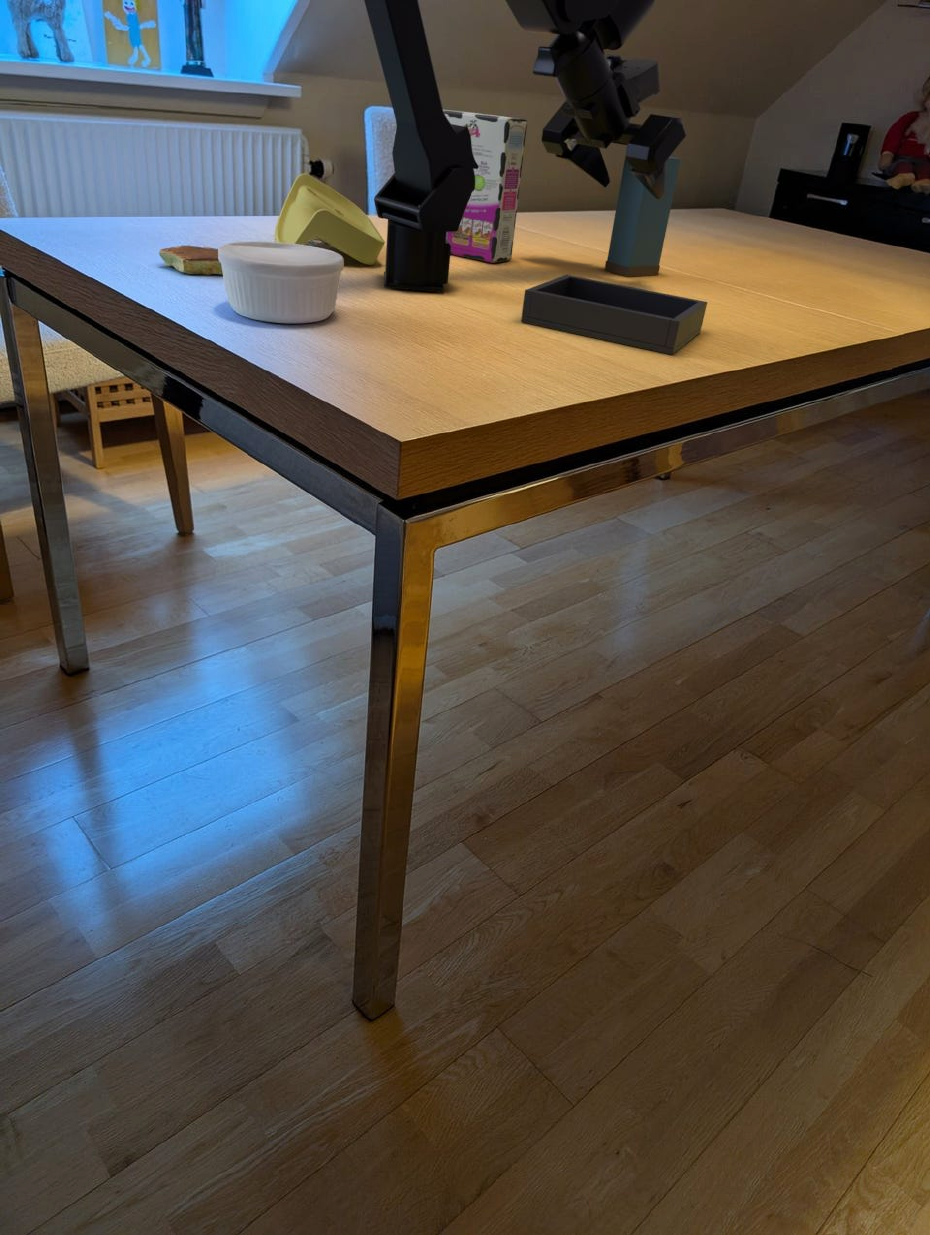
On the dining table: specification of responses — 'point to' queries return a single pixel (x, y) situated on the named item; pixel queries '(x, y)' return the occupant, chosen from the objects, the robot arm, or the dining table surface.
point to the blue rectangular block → (640, 224)
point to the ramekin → (280, 280)
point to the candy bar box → (490, 186)
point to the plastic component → (327, 221)
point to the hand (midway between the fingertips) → (633, 190)
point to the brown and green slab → (192, 259)
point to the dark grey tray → (614, 313)
